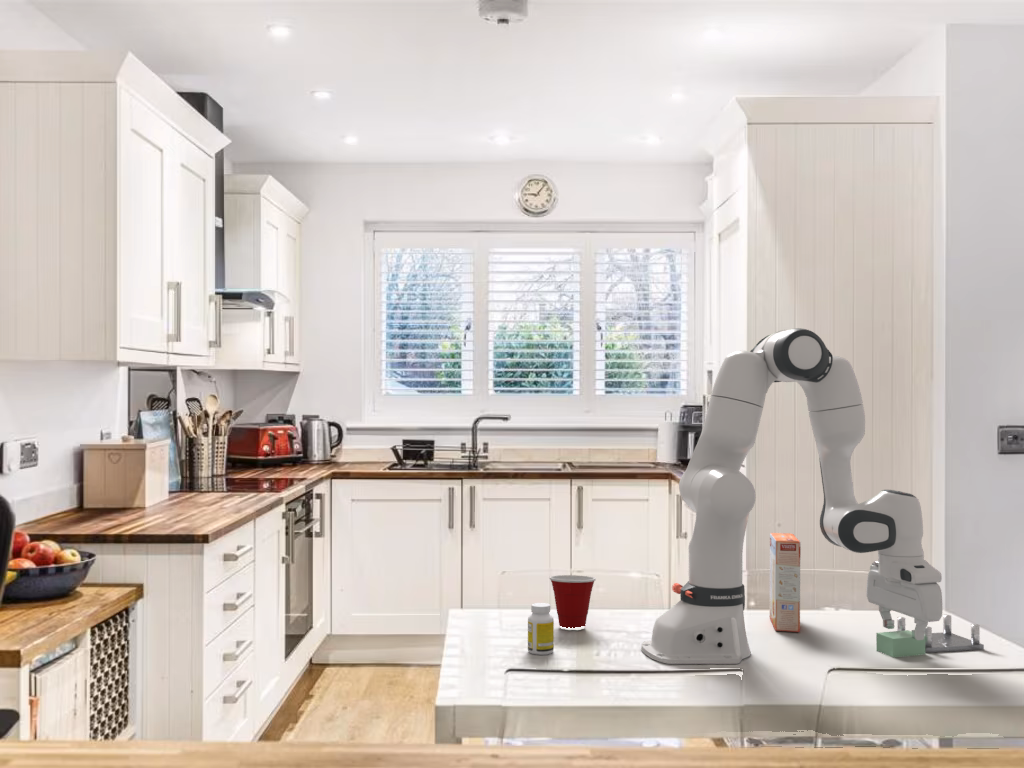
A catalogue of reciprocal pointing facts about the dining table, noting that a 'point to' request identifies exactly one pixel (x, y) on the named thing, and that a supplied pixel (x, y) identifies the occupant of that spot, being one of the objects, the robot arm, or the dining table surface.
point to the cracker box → (785, 582)
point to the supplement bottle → (540, 630)
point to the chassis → (947, 637)
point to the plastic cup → (572, 598)
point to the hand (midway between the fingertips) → (903, 633)
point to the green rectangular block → (899, 644)
